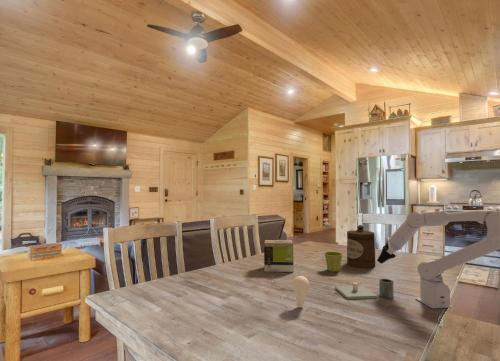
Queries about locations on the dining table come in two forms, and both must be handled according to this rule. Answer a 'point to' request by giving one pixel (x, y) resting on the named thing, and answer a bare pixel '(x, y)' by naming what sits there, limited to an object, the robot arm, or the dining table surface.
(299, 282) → the lightbulb
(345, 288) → the shaft plate
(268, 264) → the tea box
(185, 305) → the dining table surface
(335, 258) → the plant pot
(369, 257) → the wooden container
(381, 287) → the tube
